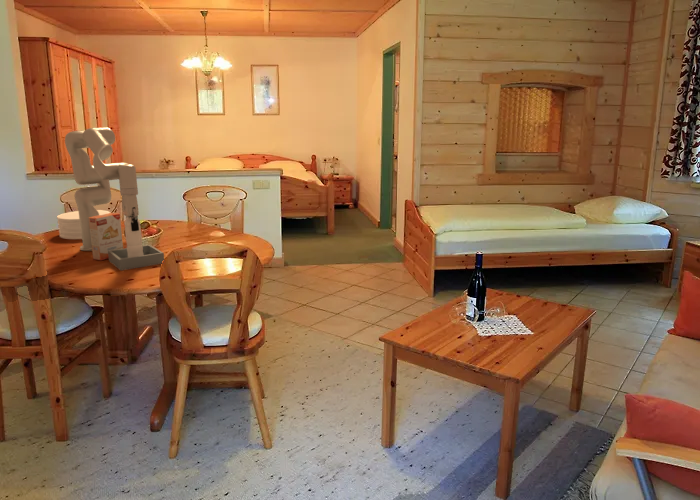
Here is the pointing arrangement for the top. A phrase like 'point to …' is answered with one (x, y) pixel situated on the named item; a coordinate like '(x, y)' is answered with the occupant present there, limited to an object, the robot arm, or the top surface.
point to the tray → (135, 258)
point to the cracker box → (105, 234)
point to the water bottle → (133, 239)
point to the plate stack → (72, 224)
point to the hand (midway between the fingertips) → (132, 229)
